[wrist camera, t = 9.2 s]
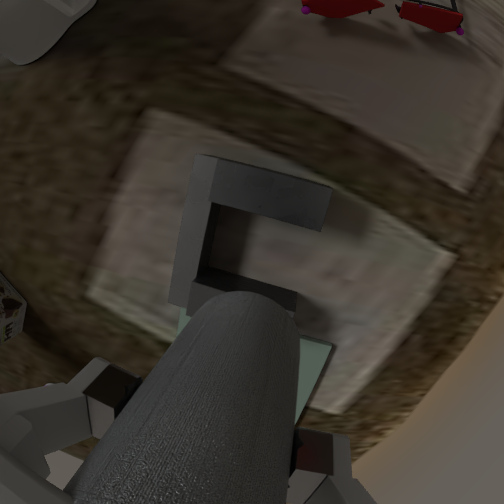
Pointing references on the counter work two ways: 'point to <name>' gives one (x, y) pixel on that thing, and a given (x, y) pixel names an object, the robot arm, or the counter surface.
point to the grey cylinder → (206, 415)
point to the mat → (310, 362)
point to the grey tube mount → (245, 198)
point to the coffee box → (10, 311)
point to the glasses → (349, 3)
